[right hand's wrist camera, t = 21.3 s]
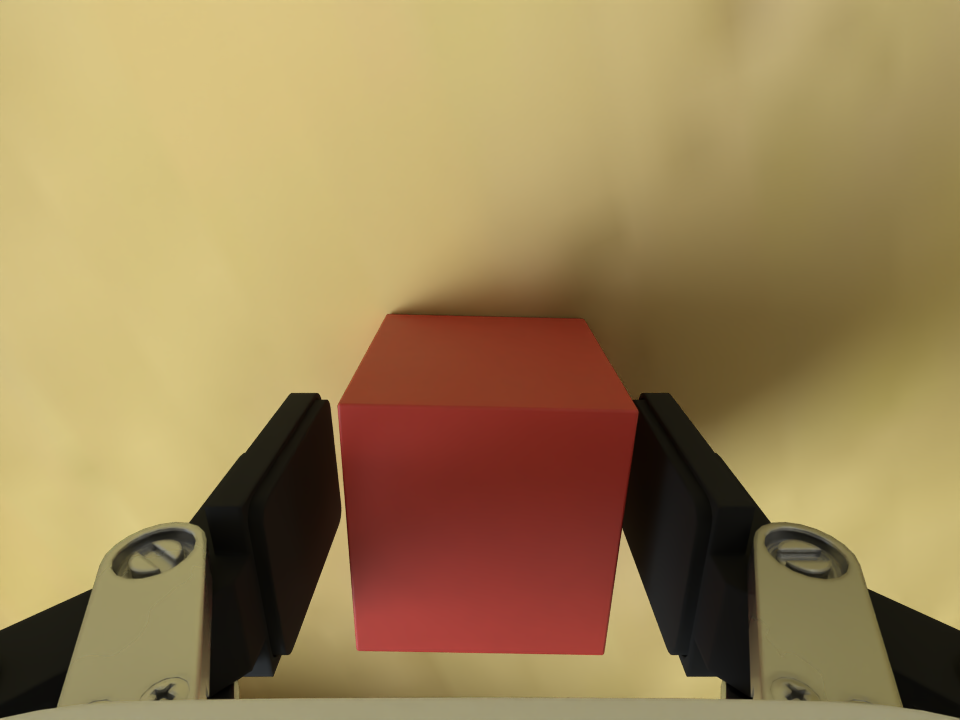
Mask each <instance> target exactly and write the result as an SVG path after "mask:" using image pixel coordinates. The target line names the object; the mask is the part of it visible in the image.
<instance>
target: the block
mask: <svg viewBox="0 0 960 720" xmlns="http://www.w3.org/2000/svg"><path fill="white" fill-rule="evenodd" d="M638 413H639V412H638V409H637V408H636V406H635V404H634V403H633V401H632V399H631V397H630V396H629V394H628V392H627V391H626V389H625V387H624V386H623V384H622V382H621V381H620V379H619V377H618V376H617V374H616V372H615V370H614V369H613V367H612V365H611V364H610V362H609V360H608V359H607V357H606V355H605V354H604V352H603V350H602V349H601V347H600V345H599V343H598V342H597V340H596V338H595V337H594V335H593V333H592V332H591V330H590V328H589V327H588V325H587V323H586V322H585V320H584V319H576V318H532V317H487V316H443V315H399V314H388V315H386V317H385V319H384V321H383V323H382V324H381V326H380V328H379V330H378V332H377V334H376V335H375V337H374V339H373V341H372V343H371V345H370V346H369V348H368V350H367V352H366V354H365V356H364V357H363V359H362V361H361V363H360V365H359V367H358V369H357V370H356V372H355V374H354V376H353V378H352V380H351V381H350V383H349V385H348V387H347V389H346V391H345V392H344V394H343V396H342V398H341V400H340V402H339V403H338V418H339V431H340V444H341V457H342V469H343V482H344V495H345V508H346V521H347V534H348V546H349V559H350V572H351V585H352V598H353V611H354V623H355V636H356V648H357V650H358V651H399V652H457V653H515V654H573V655H603V654H604V651H605V644H606V637H607V630H608V623H609V616H610V609H611V602H612V595H613V588H614V581H615V574H616V567H617V560H618V553H619V546H620V539H621V532H622V525H623V518H624V511H625V504H626V497H627V490H628V483H629V476H630V469H631V462H632V455H633V448H634V441H635V434H636V427H637V420H638Z"/></svg>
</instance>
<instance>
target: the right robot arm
mask: <svg viewBox="0 0 960 720" xmlns="http://www.w3.org/2000/svg"><path fill="white" fill-rule="evenodd" d="M632 401H633V403H634V404H635V406H636V408H637V409H638V412H639V413H638V420H637V427H636V434H635V441H634V448H633V455H632V462H631V469H630V476H629V483H628V490H627V497H626V504H625V511H624V518H623V525H622V528H623V531H624V534H625V537H626V539H627V542H628V545H629V547H630V550H631V553H632V556H633V558H634V561H635V564H636V566H637V569H638V572H639V574H640V577H641V580H642V583H643V585H644V588H645V591H646V593H647V596H648V599H649V601H650V604H651V607H652V610H653V612H654V615H655V618H656V620H657V623H658V626H659V629H660V631H661V634H662V637H663V639H664V642H665V645H666V647H667V650H668V652H669V653H670V654H671V655H679V658H680V660H681V663H682V665H683V668H684V671H685V673H686V676H687V677H719V678H720V679H722V684H721V699H687V698H515V697H445V698H273V699H239V684H238V679H240V678H241V677H273V676H274V673H275V671H276V668H277V665H278V663H279V660H280V658H281V655H289V654H290V653H291V652H292V650H293V647H294V645H295V642H296V639H297V637H298V634H299V631H300V629H301V626H302V623H303V620H304V618H305V615H306V612H307V610H308V607H309V604H310V602H311V599H312V596H313V593H314V591H315V588H316V585H317V583H318V580H319V577H320V574H321V572H322V569H323V566H324V564H325V561H326V558H327V556H328V553H329V550H330V547H331V545H332V542H333V539H334V537H335V534H336V531H337V528H338V526H339V523H340V518H341V499H340V490H339V481H338V472H337V463H336V454H335V445H334V435H333V426H332V417H331V408H330V403H329V401H328V400H321V397H320V395H319V394H318V393H291V394H290V395H289V396H288V397H287V398H286V400H285V401H284V402H283V404H282V405H281V406H280V408H279V409H278V410H277V412H276V413H275V414H274V416H273V417H272V418H271V420H270V421H269V422H268V424H267V425H266V426H265V428H264V429H263V430H262V431H261V433H260V434H259V435H258V437H257V438H256V439H255V441H254V442H253V443H252V445H251V446H250V447H249V449H248V450H247V451H246V453H243V454H242V455H241V456H240V457H239V458H238V460H237V461H236V462H235V464H234V465H233V466H232V467H231V469H230V470H229V471H228V473H227V474H226V475H225V477H224V478H223V479H222V481H221V482H220V483H219V484H218V486H217V487H216V488H215V490H214V491H213V492H212V494H211V495H210V496H209V497H208V499H207V500H206V501H205V503H204V504H203V505H202V507H201V508H200V509H199V511H198V512H197V513H196V514H195V516H194V517H193V518H192V520H191V521H190V522H189V523H183V522H172V523H165V524H159V525H155V526H152V527H149V528H145V529H143V530H141V531H138V532H136V533H134V534H132V535H130V536H128V537H126V538H125V539H123V540H122V541H120V542H119V543H117V544H116V545H115V546H114V547H113V548H112V549H111V550H110V551H109V552H108V553H107V554H106V555H105V556H104V558H103V560H102V562H101V564H100V566H99V569H98V572H97V576H96V579H95V582H94V586H93V589H91V590H88V591H86V592H84V593H82V594H80V595H77V596H75V597H73V598H71V599H69V600H66V601H64V602H62V603H60V604H58V605H55V606H53V607H51V608H49V609H47V610H44V611H42V612H40V613H38V614H36V615H33V616H31V617H29V618H27V619H25V620H22V621H20V622H18V623H16V624H14V625H11V626H9V627H7V628H5V629H3V630H0V720H960V630H957V629H955V628H953V627H951V626H949V625H946V624H944V623H942V622H940V621H938V620H935V619H933V618H931V617H929V616H927V615H924V614H922V613H920V612H918V611H916V610H913V609H911V608H909V607H907V606H905V605H902V604H900V603H898V602H896V601H894V600H891V599H889V598H887V597H885V596H883V595H880V594H878V593H876V592H874V591H872V590H869V589H867V586H866V582H865V579H864V576H863V572H862V569H861V566H860V564H859V562H858V560H857V558H856V556H855V555H854V554H853V553H852V552H851V551H850V550H849V549H848V548H847V547H846V546H845V545H844V544H843V543H841V542H840V541H838V540H837V539H835V538H834V537H832V536H830V535H828V534H826V533H824V532H822V531H819V530H817V529H815V528H811V527H808V526H805V525H801V524H795V523H788V522H777V523H771V522H770V521H769V520H768V518H767V517H766V516H765V514H764V513H763V512H762V511H761V509H760V508H759V507H758V505H757V504H756V503H755V501H754V500H753V499H752V497H751V496H750V495H749V494H748V492H747V491H746V490H745V488H744V487H743V486H742V484H741V483H740V482H739V480H738V479H737V478H736V477H735V475H734V474H733V473H732V471H731V470H730V469H729V467H728V466H727V465H726V464H725V462H724V461H723V460H722V458H721V457H720V456H719V455H718V454H717V453H714V451H713V450H712V449H711V447H710V446H709V445H708V443H707V442H706V441H705V439H704V438H703V437H702V435H701V434H700V433H699V431H698V430H697V429H696V427H695V426H694V425H693V424H692V422H691V421H690V420H689V418H688V417H687V416H686V414H685V413H684V412H683V410H682V409H681V408H680V406H679V405H678V404H677V402H676V401H675V400H674V398H673V397H672V396H671V395H670V394H669V393H642V394H641V395H640V397H639V400H632Z"/></svg>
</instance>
